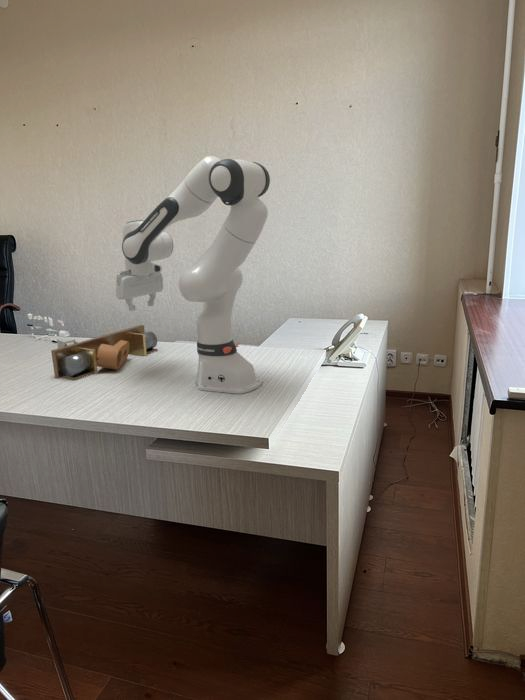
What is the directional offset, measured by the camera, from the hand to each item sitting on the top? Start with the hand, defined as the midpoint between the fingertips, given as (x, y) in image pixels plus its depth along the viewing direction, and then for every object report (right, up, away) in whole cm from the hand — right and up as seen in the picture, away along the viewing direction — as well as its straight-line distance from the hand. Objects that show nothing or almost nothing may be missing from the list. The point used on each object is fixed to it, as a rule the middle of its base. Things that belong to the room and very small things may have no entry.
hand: (141, 308), depth 187 cm
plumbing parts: (-53, -12, +51) cm, 74 cm away
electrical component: (-34, -17, +29) cm, 48 cm away
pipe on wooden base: (-14, -20, +14) cm, 28 cm away
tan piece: (-9, -17, +10) cm, 21 cm away
